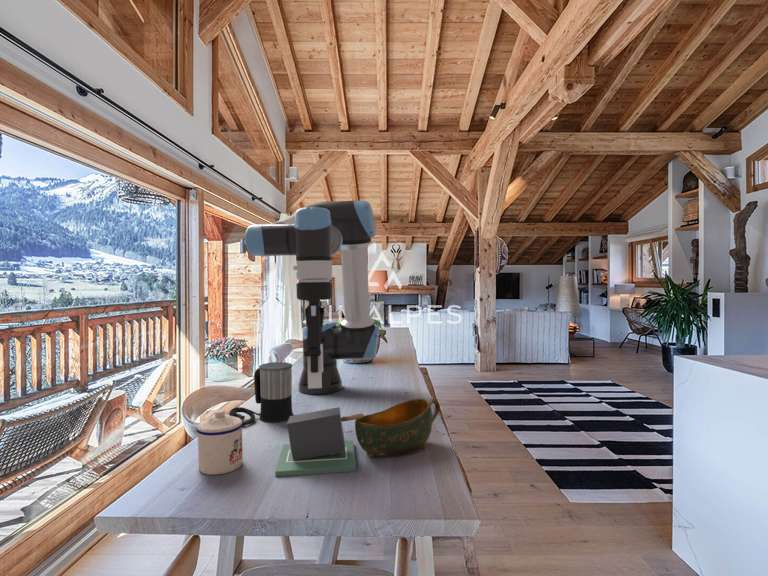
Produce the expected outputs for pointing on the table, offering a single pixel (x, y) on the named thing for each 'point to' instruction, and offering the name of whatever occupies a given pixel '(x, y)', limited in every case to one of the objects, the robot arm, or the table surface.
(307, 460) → the pin board
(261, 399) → the milk frother
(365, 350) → the robot arm
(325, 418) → the block
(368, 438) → the green gold gravy boat
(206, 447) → the teacup with lid
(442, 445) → the table surface
